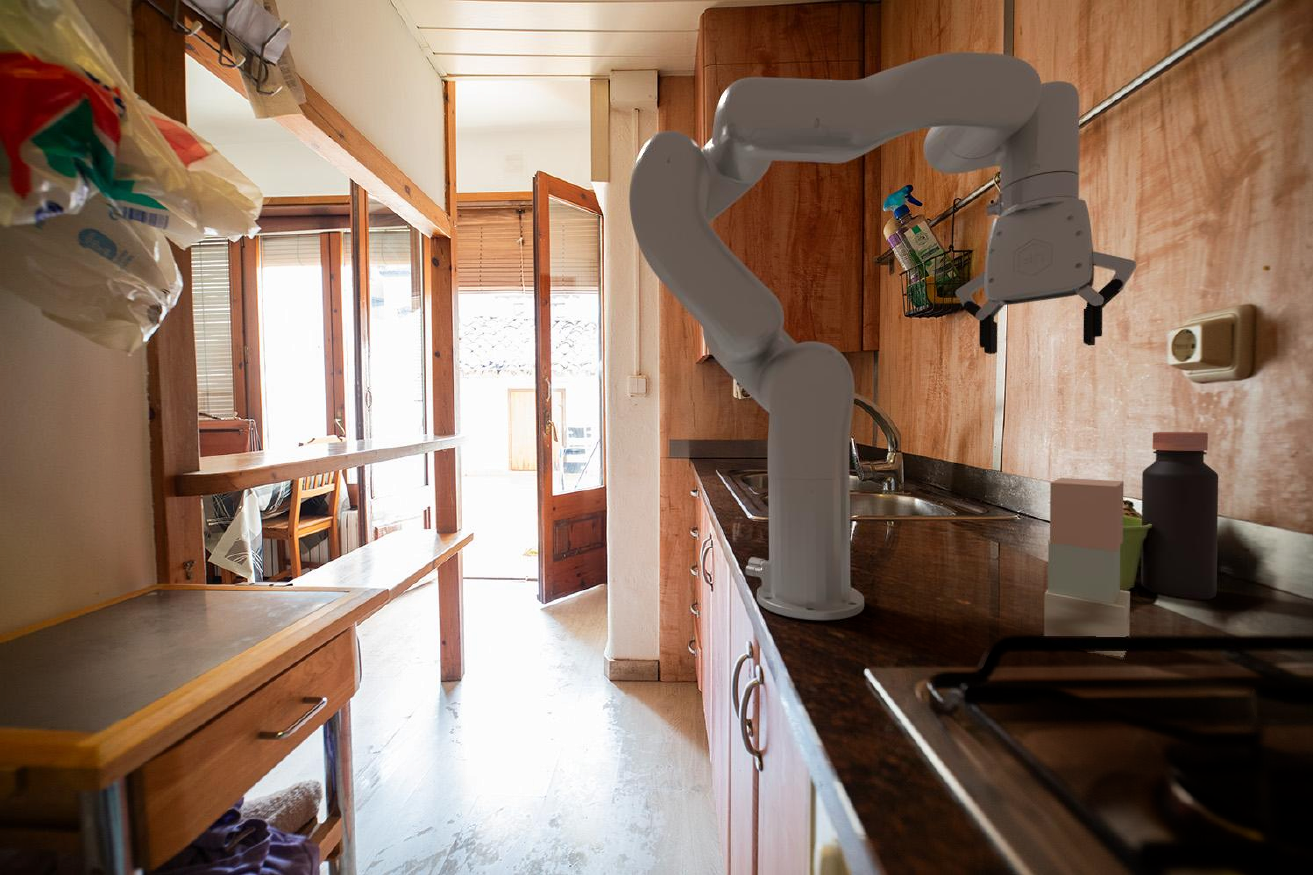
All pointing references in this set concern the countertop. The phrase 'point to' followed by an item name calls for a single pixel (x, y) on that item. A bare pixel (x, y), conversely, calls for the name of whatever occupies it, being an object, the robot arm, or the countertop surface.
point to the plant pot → (1131, 550)
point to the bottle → (1180, 518)
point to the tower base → (1087, 617)
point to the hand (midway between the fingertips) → (1037, 348)
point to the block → (1086, 513)
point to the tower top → (1084, 572)
